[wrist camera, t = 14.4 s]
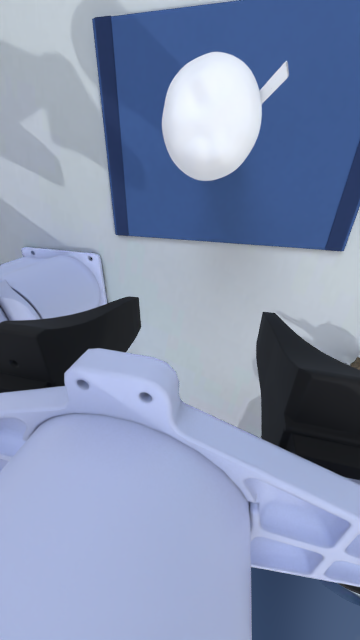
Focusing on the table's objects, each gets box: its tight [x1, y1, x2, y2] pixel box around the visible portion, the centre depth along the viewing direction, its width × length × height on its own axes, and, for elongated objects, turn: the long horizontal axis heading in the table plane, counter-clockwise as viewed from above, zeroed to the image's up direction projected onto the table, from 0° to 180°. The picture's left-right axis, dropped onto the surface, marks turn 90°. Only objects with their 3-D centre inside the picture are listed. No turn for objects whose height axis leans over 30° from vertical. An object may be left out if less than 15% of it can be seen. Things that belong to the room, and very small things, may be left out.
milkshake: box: [162, 52, 289, 181], centre depth 13 cm, size 4×5×10 cm
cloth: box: [92, 0, 360, 251], centre depth 18 cm, size 20×14×1 cm
